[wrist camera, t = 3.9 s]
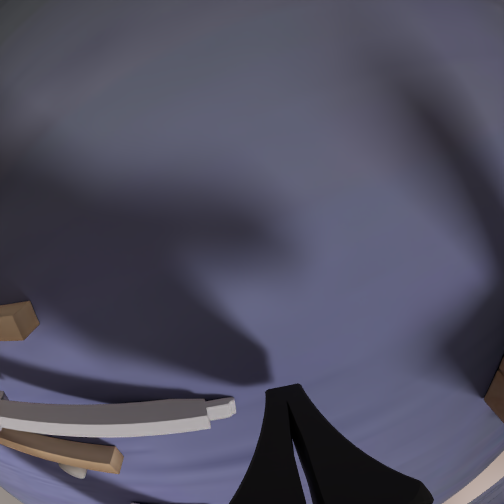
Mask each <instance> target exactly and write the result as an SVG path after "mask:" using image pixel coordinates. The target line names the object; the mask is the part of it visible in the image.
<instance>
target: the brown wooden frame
mask: <svg viewBox="0 0 504 504" xmlns="http://www.w3.org/2000/svg"><path fill="white" fill-rule="evenodd" d="M484 401H485V402H486V403H487V405H488V406H489V407H490V408H491V409H492V410H493V411H494V413H495V414H496V415H497V416H498V417H499V418H500V419H501V421H502V422H503V423H504V356H503V359H502V361H501V364H500V366H499V369H498V370H497V372H496V374H495V376H494V379H493V381H492V383H491V385H490V387H489V389H488V391H487V393H486V395H485V397H484Z"/></svg>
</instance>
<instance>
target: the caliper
mask: <svg viewBox="0 0 504 504" xmlns="http://www.w3.org/2000/svg"><path fill="white" fill-rule="evenodd" d="M232 414H236V407H235V400H234V398H232V397H228V398H221V399H216V400H211V401H206V402H205V399H166V400H157V401H147V402H135V403H120V404H97V405H63V404H41V403H28V402H18V401H9V399H8V398H7V396H6V394H5V393H4V391H0V431H1V430H2V428H7V429H13V430H19V431H25V432H32V433H40V434H49V435H60V436H75V437H138V436H153V435H164V434H174V433H182V432H190V431H197V430H204V429H210V428H211V424H210V421H211V420H217V419H223V418H228V417H231V416H232Z"/></svg>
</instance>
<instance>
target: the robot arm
mask: <svg viewBox="0 0 504 504" xmlns="http://www.w3.org/2000/svg"><path fill="white" fill-rule="evenodd" d="M265 394H266V403H265V412H264V419H263V423H262V428H261V433H260V436H259V440H258V443H257V446H256V450H255V452H254V455H253V458H252V460H251V463H250V465H249V468H248V470H247V472H246V474H245V476H244V478H243V480H242V482H241V484H240V486H239V488H238V490H237V491H236V493H235V495H234V496H233V498H232V499H231V501H230V503H229V504H306V500H305V497H304V493H303V489H302V485H301V481H300V477H299V473H298V469H297V465H296V461H295V457H294V450H293V442H294V445H295V448H296V451H297V454H298V456H299V459H300V462H301V465H302V468H303V470H304V473H305V476H306V479H307V482H308V486H309V490H310V494H311V498H312V502H313V504H432V503H433V501H434V499H433V497H432V495H431V493H430V492H429V490H428V489H427V488H426V487H425V485H424V484H423V483H422V482H421V481H419V480H417V479H414V478H411V477H409V476H406V475H404V474H402V473H400V472H397V471H395V470H393V469H391V468H389V467H387V466H385V465H384V464H382V463H380V462H379V461H377V460H375V459H374V458H372V457H370V456H369V455H367V454H366V453H364V452H363V451H362V450H360V449H359V448H357V447H356V446H355V445H354V444H352V443H351V442H350V441H349V440H347V439H346V438H345V437H344V436H343V435H342V434H341V433H339V432H338V431H337V430H336V429H335V428H334V427H333V426H332V425H331V424H330V423H329V422H328V421H327V419H326V418H325V417H324V416H323V415H322V414H321V413H320V412H319V410H318V409H317V408H316V407H315V405H314V404H313V403H312V401H311V400H310V399H309V397H308V396H307V394H306V393H305V391H304V390H303V388H302V386H301V385H300V384H293V385H288V386H283V387H278V388H273V389H268V390H267V391H266V392H265ZM292 439H293V442H292ZM131 504H138V503H131ZM468 504H504V477H503V478H502V479H500V480H499V481H498V482H497V483H495V484H494V485H493V486H492V487H490V488H489V489H488V490H486V491H485V492H484V493H482V494H481V495H480V496H478V497H477V498H476V499H474V500H473V501H471V502H470V503H468Z"/></svg>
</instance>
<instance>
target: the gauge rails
mask: <svg viewBox="0 0 504 504" xmlns="http://www.w3.org/2000/svg"><path fill="white" fill-rule="evenodd" d="M39 324H40V323H39V321H38V319H37V317H36V314H35V312H34V310H33V307H32V305H31V302H30V301H25V302H19V303H13V304H7V305H0V341H19V340H25V339H26V338H27V337H28V335H29V334H30V333H31V332H32V331H33V330H34V329H35V328H36V327H37V326H38V325H39ZM0 444H2V445H4V446H7V447H10V448H12V449H15V450H18V451H21V452H24V453H26V454H30V455H33V456H36V457H39V458H43V459H46V460H50V461H53V462H57V463H58V464H59V466H60V468H61V469H63V470H64V471H65V472H67V473H68V474H70V475H72V476H74V477H77V478H81V479H83V478H85V475H86V472H87V469H89V470H95V471H101V472H107V473H115V474H119V473H120V469H121V465H122V462H123V458H124V456H123V455H122V454H121V453H120V452H119V450H118V449H117V448H116V447H115V446H105V445H96V444H88V443H81V442H75V441H69V440H63V439H58V438H53V437H48V436H43V435H39V434H35V433H31V432H25V431H19V430H13V429H7V428H2V430H1V431H0Z"/></svg>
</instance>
